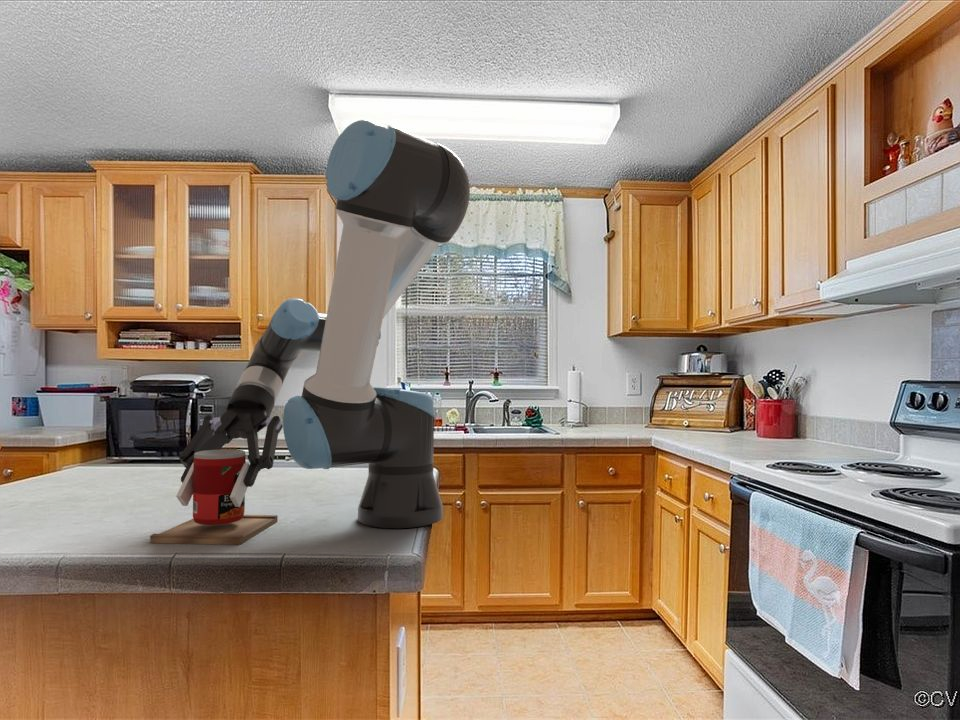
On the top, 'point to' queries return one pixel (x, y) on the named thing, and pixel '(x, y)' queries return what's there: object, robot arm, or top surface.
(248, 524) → the trivet
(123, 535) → the top surface
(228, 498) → the canned food
